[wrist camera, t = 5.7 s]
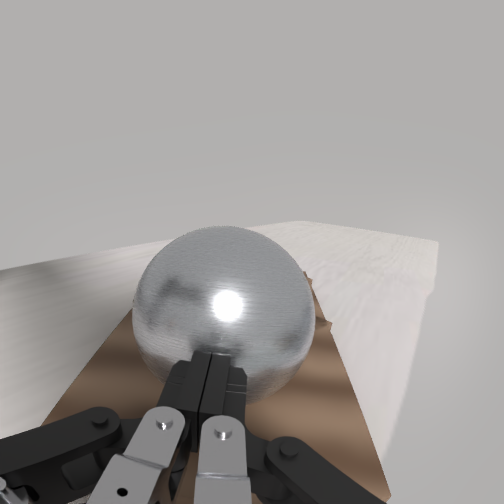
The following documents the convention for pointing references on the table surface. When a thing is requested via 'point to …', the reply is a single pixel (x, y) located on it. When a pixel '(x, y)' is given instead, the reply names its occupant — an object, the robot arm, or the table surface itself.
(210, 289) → the steel ball
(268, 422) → the wooden board
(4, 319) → the table surface
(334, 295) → the table surface
